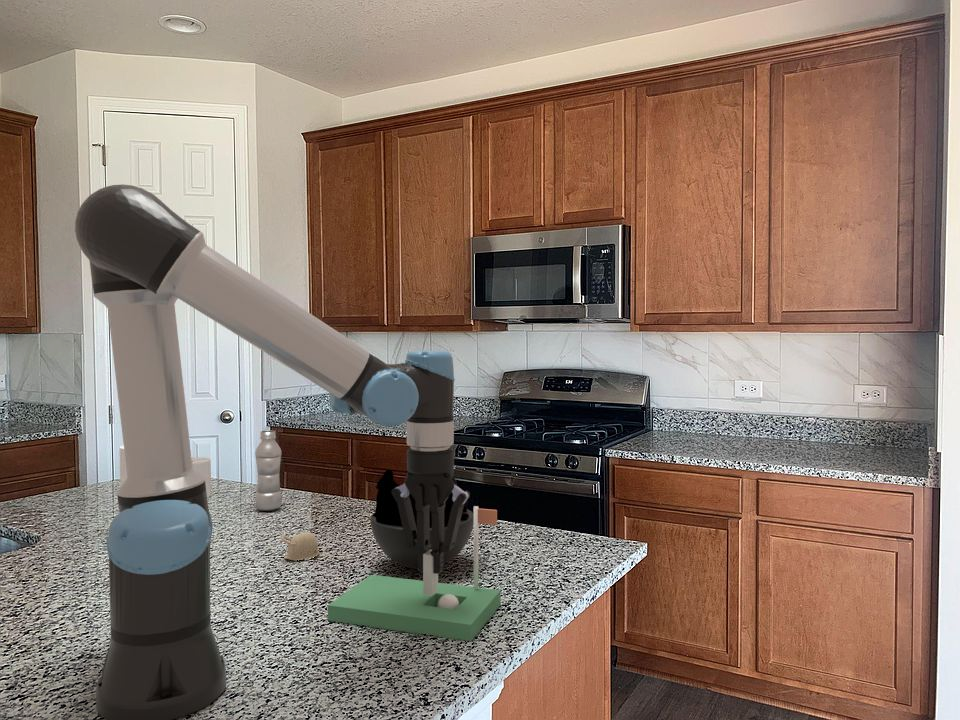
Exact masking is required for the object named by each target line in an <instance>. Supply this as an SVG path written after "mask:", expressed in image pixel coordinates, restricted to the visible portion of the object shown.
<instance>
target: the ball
mask: <svg viewBox="0 0 960 720" xmlns="http://www.w3.org/2000/svg"><path fill="white" fill-rule="evenodd" d="M458 606H459V601H458V599H457V598H456V597H455V596H454V595H452V594H446V595H443V596H442V597H441V598H440V599H439V601H438V607H440V608H448V609H456V608H457V607H458Z"/></svg>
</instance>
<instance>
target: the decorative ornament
mask: <svg viewBox="0 0 960 720" xmlns="http://www.w3.org/2000/svg"><path fill="white" fill-rule="evenodd" d="M280 539H281V541H282V542H284V544H286V545H287V550H286V551H287V553H286V556H284V558H285V559H284V560H290V561H294V562H295V561H297V560H298V562H300V561H299V560H303V559H309V558H313V557H315V556H316V557H318V555H320V551H319V544H318V543H319V542H318V539H317V537H316V536H315V534H314V533H312V532H308V531H307V532H301V533H298V534H296V535H294V536H293V537H292V538H291V537H289V536H286V535H282V536H281V537H280ZM316 557H315V558H316Z"/></svg>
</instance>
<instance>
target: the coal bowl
mask: <svg viewBox="0 0 960 720" xmlns="http://www.w3.org/2000/svg"><path fill="white" fill-rule="evenodd" d="M455 480H456V483H457V485H456V486H458V487H459V488H460V489H462V490H463V488H464V486H463V483H462V482H461V481H459V480H458V479H457V478H455ZM399 486H400V484H398V483H397V482H396V481H395V479H394V472H393V470H392V469H386V470H385V471H384V472H383V474H382V477H381V478H380V479H379V480H378V481H377V483H376V489H377V493H376V499H375V500H376V503H375V512H373V513H372V514H371V516H370V520H369V521H370V527H371V531H372V535H373V537H374V539H375V541H376V543H377V545H378V546H379V548H380V550H381V551H382V552H383V553H384V554H385V555H386V556H387V558H389V559H390V560H392V561H393V562H395V563H397V564H398V565H401V566H403V567H405V568H409V569H413V570H414V569H415V570H418V552H417V551H416V550H415V549H413V548H408V547H407V545H406V540H405V536H404V531H403V527H402V522H401V518H400V513H399V509H398V504H397V502H396V500H395V499H394V497H393V495H392V490H393V489H395V488H397V487H399ZM452 497H453V493H451V495H450V496H449V497H448V499H447V500H446V501H445V509H444V538H445V534H446V530H447V525H448V521H449V517H450V512H451V508H452V505H453V503H454V501H453V500H452ZM409 498H410V501H411V506H412V510H413V515H414V519H415V523H416V528H417V511H416V501H415V500H414V498H413V496H412V495H411V493H410V492H409ZM473 530H474V511H472V510H470V509H468V508H467V501H466V503H465V504H464V507H463V512H462V516H461V520H460V525H459V529H458V533H457V537H456V542H455V546H454V547H453V548H452V549H450V550H449V551H448V552H444V553H443V565H444V564H446V563H449V562H450V561H451V560H453V559H454V558H455V557H457V556H458V555H459V553H461V552H462V550H463V549H464V547H465V546H466V545H467V543H468V542H469V539H470V537H471V535H472V532H473ZM429 544H431V547H429V548H428V550H432V513H431V510H430V509H429Z"/></svg>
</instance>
